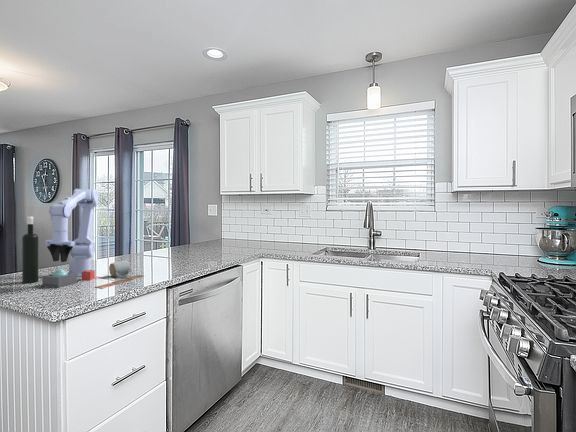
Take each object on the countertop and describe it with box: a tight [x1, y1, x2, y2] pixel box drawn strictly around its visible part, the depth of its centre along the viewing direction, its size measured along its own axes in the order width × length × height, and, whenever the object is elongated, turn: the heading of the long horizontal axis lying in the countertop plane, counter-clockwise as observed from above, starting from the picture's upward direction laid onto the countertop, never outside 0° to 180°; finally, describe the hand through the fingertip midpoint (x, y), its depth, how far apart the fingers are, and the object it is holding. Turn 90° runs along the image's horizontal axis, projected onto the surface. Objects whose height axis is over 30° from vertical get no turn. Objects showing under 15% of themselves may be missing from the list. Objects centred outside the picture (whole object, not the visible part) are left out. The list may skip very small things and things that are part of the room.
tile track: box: [94, 274, 145, 289], centre depth 153 cm, size 4×26×1 cm, turn 165°
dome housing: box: [41, 272, 78, 289], centre depth 145 cm, size 9×9×4 cm
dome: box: [51, 268, 69, 277], centre depth 145 cm, size 6×6×4 cm
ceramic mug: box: [108, 259, 132, 279], centre depth 163 cm, size 11×8×8 cm
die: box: [81, 269, 96, 281], centre depth 156 cm, size 4×4×4 cm
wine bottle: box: [21, 216, 39, 284], centre depth 148 cm, size 6×6×30 cm
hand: (60, 261), depth 145 cm, fingers open, 4 cm apart
